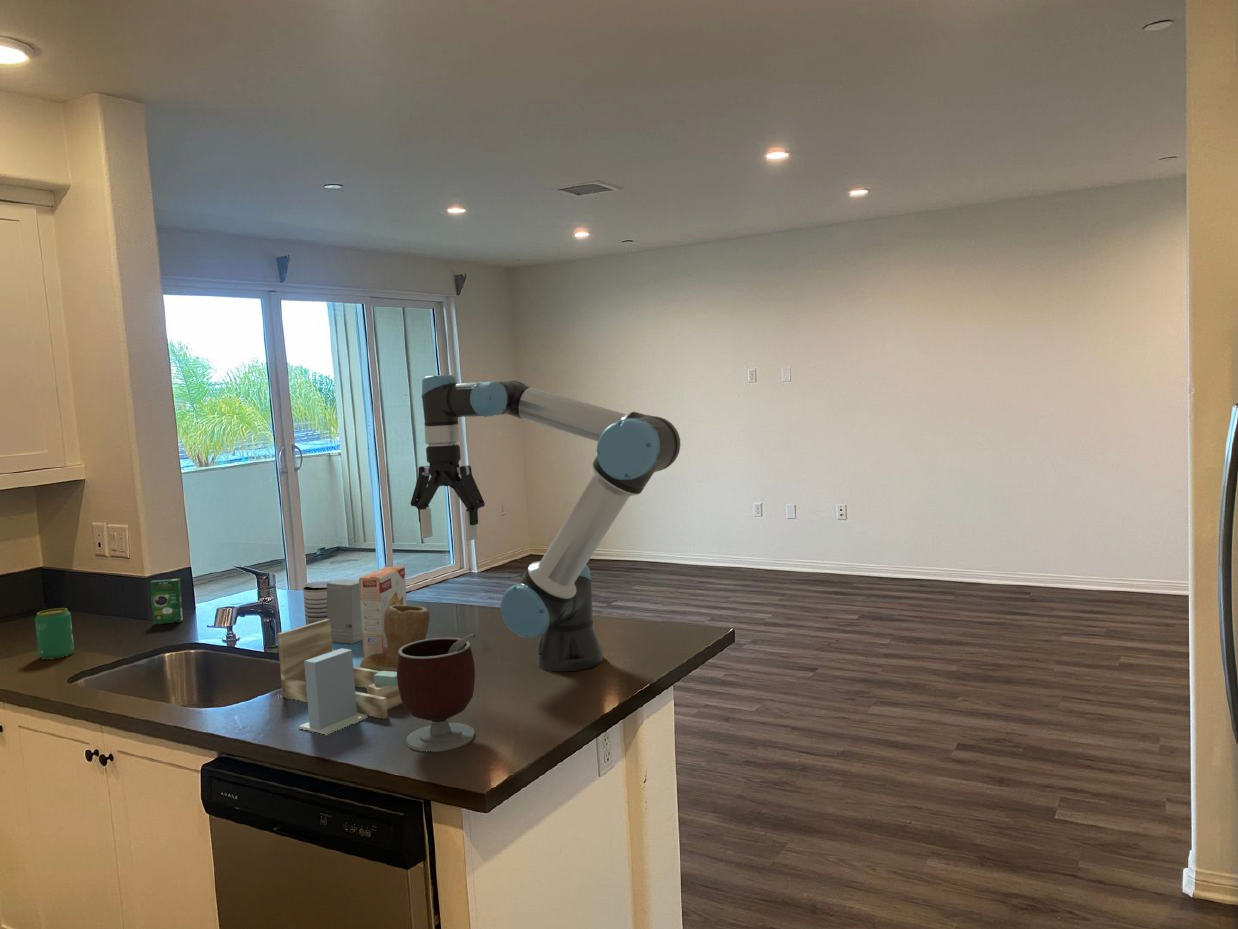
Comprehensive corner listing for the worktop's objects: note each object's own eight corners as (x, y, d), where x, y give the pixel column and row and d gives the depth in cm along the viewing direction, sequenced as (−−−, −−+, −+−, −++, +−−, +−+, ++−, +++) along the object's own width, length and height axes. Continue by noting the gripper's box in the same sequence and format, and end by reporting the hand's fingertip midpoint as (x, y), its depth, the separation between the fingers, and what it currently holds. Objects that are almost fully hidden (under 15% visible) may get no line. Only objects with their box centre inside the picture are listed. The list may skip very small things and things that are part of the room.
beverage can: (78, 654, 238) (74, 610, 237) (44, 662, 232) (39, 616, 232) (69, 649, 244) (64, 606, 243) (35, 657, 238) (30, 612, 237)
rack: (430, 698, 188) (426, 632, 187) (383, 719, 177) (378, 649, 176) (331, 679, 204) (326, 619, 203) (282, 697, 193) (277, 633, 192)
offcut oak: (414, 701, 188) (413, 690, 188) (380, 715, 181) (379, 703, 180) (397, 698, 191) (396, 686, 191) (363, 711, 183) (363, 699, 183)
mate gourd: (386, 749, 161) (378, 640, 159) (429, 722, 174) (422, 620, 172) (461, 758, 155) (454, 644, 154) (500, 728, 168) (493, 623, 167)
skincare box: (327, 643, 237) (322, 583, 235) (345, 635, 243) (340, 578, 242) (353, 644, 234) (348, 584, 232) (370, 637, 240) (366, 578, 239)
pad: (367, 718, 178) (367, 715, 178) (326, 735, 169) (326, 732, 169) (340, 712, 182) (340, 709, 182) (299, 729, 174) (298, 726, 174)
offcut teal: (394, 686, 183) (394, 677, 183) (374, 684, 185) (373, 675, 184) (403, 681, 186) (402, 672, 185) (383, 680, 187) (382, 670, 187)
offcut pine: (408, 692, 186) (407, 680, 186) (378, 701, 182) (377, 689, 181) (397, 688, 189) (397, 677, 189) (367, 697, 184) (367, 685, 184)
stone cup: (443, 664, 212) (439, 601, 211) (412, 679, 201) (408, 613, 200) (391, 659, 218) (386, 598, 217) (358, 674, 207) (353, 610, 206)
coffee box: (184, 620, 272) (180, 577, 271) (182, 622, 269) (178, 579, 268) (155, 623, 270) (151, 580, 269) (152, 625, 267) (148, 582, 266)
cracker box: (386, 664, 215) (380, 577, 213) (363, 663, 216) (356, 577, 214) (411, 647, 228) (405, 565, 227) (389, 647, 230) (383, 566, 228)
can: (306, 621, 262) (303, 581, 261) (347, 616, 265) (344, 576, 264) (305, 631, 251) (301, 588, 250) (347, 625, 254) (344, 584, 253)
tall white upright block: (356, 714, 179) (351, 650, 178) (319, 729, 171) (314, 662, 170) (346, 712, 180) (341, 648, 179) (309, 727, 173) (304, 660, 172)
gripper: (496, 442, 198) (502, 537, 200) (414, 444, 211) (421, 533, 213) (473, 444, 192) (480, 543, 193) (390, 446, 205) (397, 538, 207)
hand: (449, 538), depth 203 cm, fingers open, 13 cm apart
